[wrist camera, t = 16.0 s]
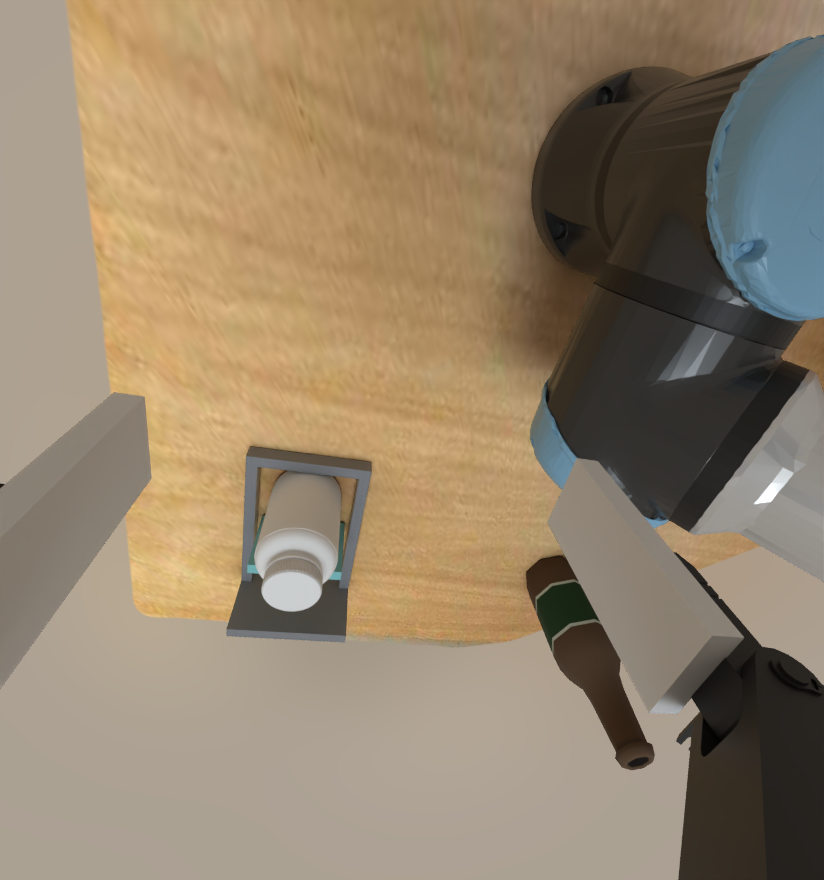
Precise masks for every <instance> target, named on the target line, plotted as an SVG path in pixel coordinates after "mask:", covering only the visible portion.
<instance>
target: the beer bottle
mask: <svg viewBox="0 0 824 880" xmlns="http://www.w3.org/2000/svg"><path fill="white" fill-rule="evenodd" d="M527 589H528V592H529V595H530V598H531V601H532V603H533V606H534V608H535V611H536V613H537V616H538V618H539V621H540V623H541V626H542V628H543V631H544V633H545V636H546V638H547V641H548V643H549V646H550V648H551V651H552V653H553V656H554V658H555V660H556V662H557V664H558V666H559V668H560V670H561V671H562V672H563V673H564V674H565V676H566V677H567V678H568V679H569V680H570V681H572V682H573V683H574V684H576V685H577V686H579V687H580V688H581V689H583V690H584V692H585V693H586V695H587V697H588V698H589V700H590V701H591V703H592V705H593V707H594V708H595V711H596V713H597V715H598V717H599V719H600V721H601V723H602V725H603V727H604V729H605V730H606V733H607V735H608V737H609V739H610V741H611V743H612V745H613V747H614V748H615V750H616V757H615V758H616V760H617V761H618V762H619V764H620V765H621V767H623V768H626V769H629V770H636V769H641V768H644V767H646V766H647V765H649V764H651V763H652V762H653V760H654V751H653V746H652V744H650V743H647V741H646V739H645V736H644V734H643V732H642V730H641V728H640V725H639V723H638V720H637V718H636V716H635V714H634V711H633V709H632V707H631V705H630V703H629V700H628V698H627V696H626V693H625V691H624V688H623V685H622V682H621V679H620V676H619V672H620V661H621V660H620V658H619V656H618V654H617V652H616V650H615V649H614V647H613V645H612V643H611V641H610V639H609V637H608V635H607V633H606V632H605V630H604V628H603V626H602V624H601V622H600V620H599V618H598V617H597V615H596V613H595V611H594V609H593V607H592V605H591V603H590V602H589V600H588V598H587V596H586V594H585V592H584V590H583V588H582V587H581V585H580V583H579V581H578V579H577V577H576V575H575V573H574V572H573V570H572V568H571V566H570V564H569V562H568V560H566V559H565V558H563V557H561V556H557V557H551V558H546V559H541V560H539V561H538V562H537V563H536V564H535V565H534V566H533V567H532V568H531V569H530V570H528V571H527Z"/></svg>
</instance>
